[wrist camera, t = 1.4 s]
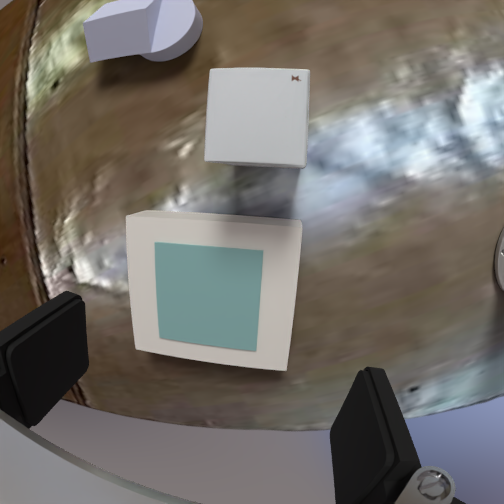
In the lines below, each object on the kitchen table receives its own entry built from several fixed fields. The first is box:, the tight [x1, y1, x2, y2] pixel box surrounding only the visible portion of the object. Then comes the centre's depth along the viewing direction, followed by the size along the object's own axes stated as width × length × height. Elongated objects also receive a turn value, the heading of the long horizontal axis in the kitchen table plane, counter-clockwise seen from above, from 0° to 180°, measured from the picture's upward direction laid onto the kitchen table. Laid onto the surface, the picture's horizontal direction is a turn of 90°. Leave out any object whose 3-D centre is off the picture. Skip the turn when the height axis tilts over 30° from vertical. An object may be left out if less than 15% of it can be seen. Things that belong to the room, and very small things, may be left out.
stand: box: [126, 210, 303, 371], centre depth 34 cm, size 18×16×5 cm
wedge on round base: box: [83, 0, 203, 62], centre depth 27 cm, size 9×7×13 cm
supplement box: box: [204, 68, 310, 169], centre depth 26 cm, size 7×7×13 cm
